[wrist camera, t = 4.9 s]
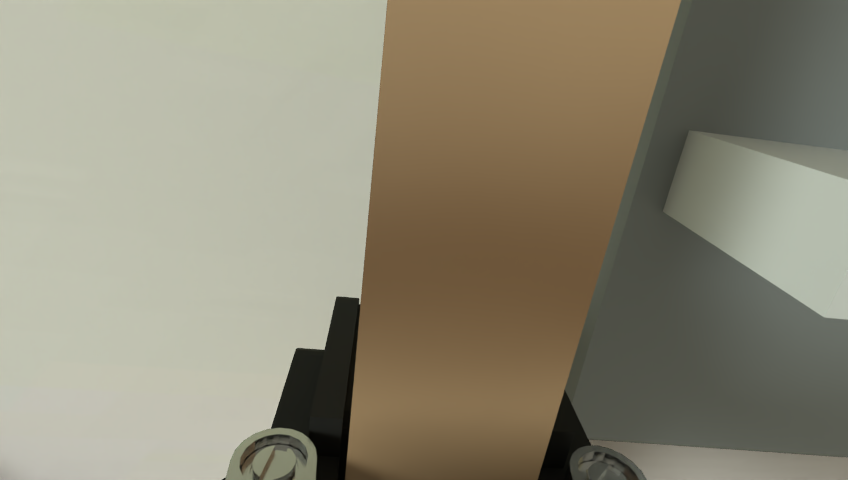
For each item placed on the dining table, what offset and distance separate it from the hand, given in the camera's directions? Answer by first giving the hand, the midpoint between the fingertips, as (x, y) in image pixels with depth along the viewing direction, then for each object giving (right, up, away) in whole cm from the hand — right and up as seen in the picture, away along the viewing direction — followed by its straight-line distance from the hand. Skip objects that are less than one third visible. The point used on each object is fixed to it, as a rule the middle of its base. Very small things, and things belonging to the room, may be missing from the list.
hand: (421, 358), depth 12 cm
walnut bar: (+1, +4, -3) cm, 5 cm away
